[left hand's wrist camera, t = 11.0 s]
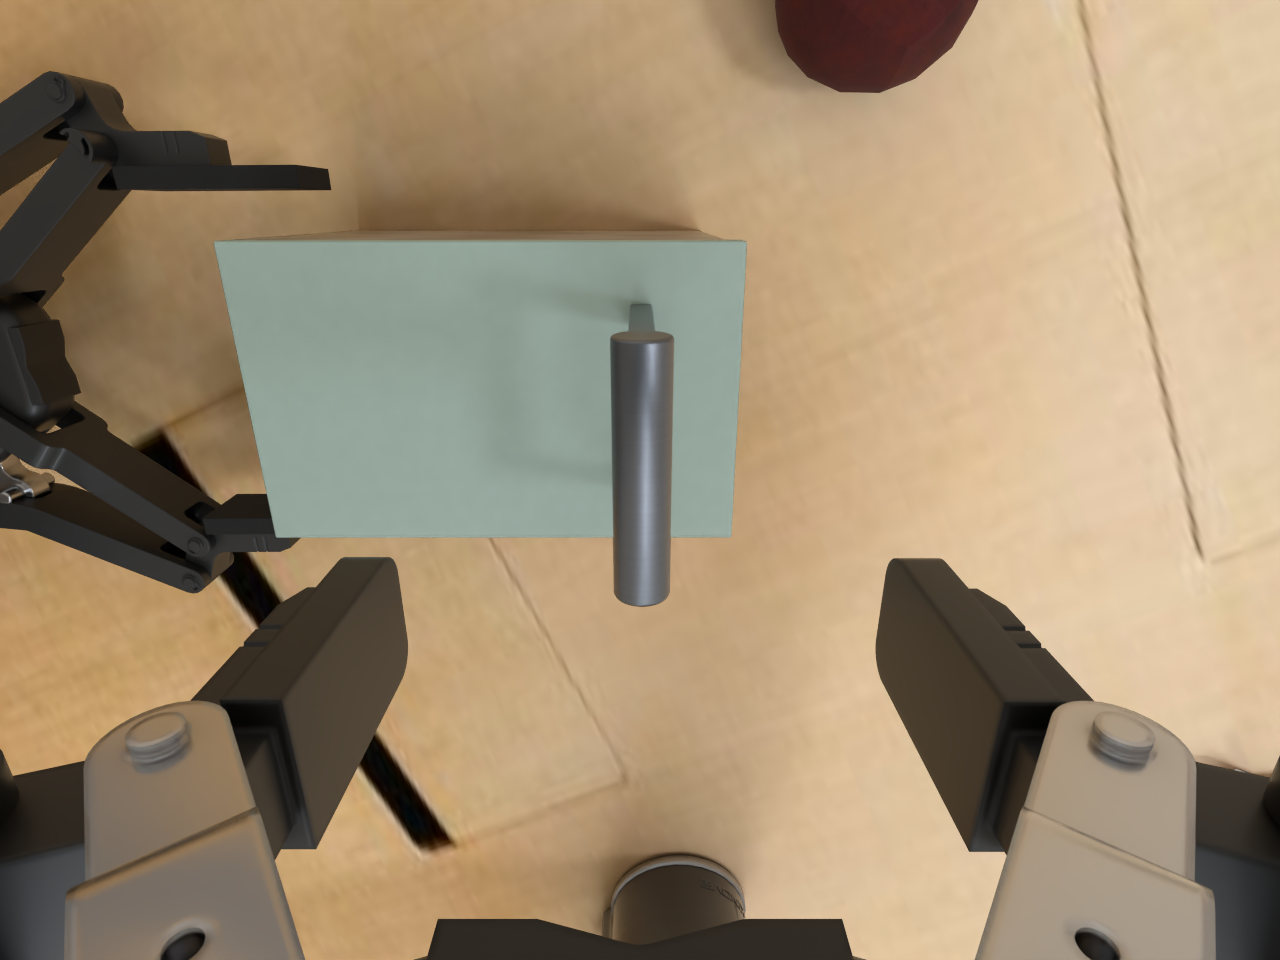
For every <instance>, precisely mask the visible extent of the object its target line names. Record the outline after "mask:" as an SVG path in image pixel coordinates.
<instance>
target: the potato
mask: <svg viewBox="0 0 1280 960" xmlns="http://www.w3.org/2000/svg"><path fill="white" fill-rule="evenodd" d="M977 2H978V0H776V2H775V8H776V16H777V24H778V32H779V34H780V37H781V39H782V42H783V44H784V47H785V49H786V52H787V54H788V56H789V57H790V58H791V59H792V60H793V61H794V62H795V64H796V65H797V66H798V67H799V68H800V69H801V70H802V71H803V72H804V73H805V75H806V76H807V77H809V78H811V79H813V80H815V81H817V82H820V83H822V84H824V85H826V86H828V87H830V88H832V89H835V90H837V91H839V92H868V93H880V92H883V91H885V90H888V89H890V88H893V87H895V86H898V85H900V84H903V83H905V82H908V81H910V80H913V79H915V78H916V77H918V76H919V75H920V74H921V73H922V72H924V71H925V70H926V69H927V68H928V67H929V66H931V65H932V64H933V63H934V62H935V61H936V60H938V59H939V58H940V57H941V56H942V55H944V54H945V53H946V52H947V51H948V50H949V49H951V48H952V47H953V45H954V43H955V42H956V40H957V38H958V36H959V35H960V33H961V31H962V30H963V28H964V26H965V25H966V23H967V21H968V20H969V18H970V16H971V15H972V13H973V11H974V9H975V7H976V5H977Z"/></svg>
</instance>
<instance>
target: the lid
mask: <svg viewBox="0 0 1280 960" xmlns="http://www.w3.org/2000/svg"><path fill="white" fill-rule="evenodd" d="M214 247H215V251H216V256H217V261H218V265H219V270H220V275H221V280H222V284H223V289H224V294H225V299H226V303H227V308H228V313H229V317H230V322H231V327H232V332H233V336H234V341H235V346H236V351H237V355H238V360H239V365H240V369H241V374H242V379H243V384H244V388H245V393H246V398H247V403H248V407H249V412H250V417H251V421H252V426H253V431H254V436H255V440H256V445H257V450H258V455H259V459H260V464H261V469H262V473H263V478H264V483H265V488H266V492H267V497H268V502H269V507H270V511H271V516H272V521H273V525H274V530H275V535H276V537H277V538H320V537H613V564H614V594H615V596H616V597H617V599H618V600H620V601H621V602H623V603H625V604H628V605H631V606H639V607H645V606H652V605H656V604H659V603H661V602H663V601H664V600H665V599H666V598H667V597H668V595H669V593H670V546H671V537H731V533H732V514H733V495H734V476H735V457H736V439H737V420H738V401H739V382H740V363H741V345H742V326H743V307H744V288H745V269H746V251H747V242H746V241H743V240H223V241H215V242H214Z"/></svg>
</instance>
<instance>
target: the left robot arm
mask: <svg viewBox="0 0 1280 960" xmlns="http://www.w3.org/2000/svg"><path fill="white" fill-rule="evenodd" d="M407 656H408V640H407V632H406V625H405V618H404V611H403V605H402V598H401V591H400V584H399V577H398V571H397V567H396V564H395V562H394V560H393V559H392V558H390V557H344V558H342V559H340V560H339V561H338V562H337V563H336V565H335V566H334V567H333V568H332V569H331V570H330V572H329V573H328V574H327V575H326V576H325V577H324V579H323V580H322V581H321V582H320V583H319V584H318V586H317V587H307V588H306V589H304V590H302V591H301V592H299V593H297V594H296V595H294V596H292V597H291V598H289V599H287V600H285V601H284V602H282V603H280V604H279V605H278V606H277V607H276V608H275V609H274V610H273V611H272V612H271V613H270V614H269V615H268V617H267V618H266V619H265V620H264V621H263V622H262V623H261V624H260V628H259V629H256V630H255V631H254V632H253V633H252V634H251V635H250V636H249V637H248V638H247V639H246V641H245V642H244V646H243V647H239V648H238V649H237V650H236V651H235V653H234V654H233V655H232V656H231V657H230V658H229V659H228V660H227V661H226V662H225V663H224V665H223V666H222V667H221V668H220V669H219V670H218V671H217V672H216V673H215V674H214V675H213V677H212V678H211V679H210V680H209V681H208V682H207V683H206V684H205V685H204V686H203V687H202V689H201V690H200V691H199V692H198V693H197V694H196V695H195V696H194V697H193V698H192V699H191V701H185V702H177V703H173V704H168V705H164V706H161V707H157V708H154V709H152V710H149V711H146V712H144V713H141V714H139V715H137V716H135V717H133V718H131V719H129V720H127V721H125V722H124V723H122V724H120V725H119V726H117V727H116V728H114V729H113V730H111V731H110V732H109V733H107V734H106V735H105V736H104V737H103V738H101V739H100V740H99V741H98V742H97V743H96V744H95V745H94V747H93V748H92V749H91V751H90V752H89V753H88V755H87V758H86V760H85V761H82V762H77V763H72V764H68V765H63V766H58V767H54V768H49V769H44V770H39V771H35V772H30V773H25V774H21V775H16V776H12V773H11V771H10V769H9V766H8V764H7V762H6V759H5V757H4V754H3V752H2V750H0V960H305V958H304V954H303V951H302V948H301V945H300V941H299V938H298V935H297V932H296V928H295V925H294V922H293V919H292V915H291V912H290V909H289V906H288V902H287V899H286V896H285V893H284V889H283V886H282V883H281V880H280V876H279V873H278V870H277V867H276V863H275V859H276V857H277V855H278V854H279V852H280V850H281V849H316V848H317V846H318V844H319V842H320V840H321V838H322V836H323V834H324V832H325V830H326V828H327V826H328V825H329V823H330V821H331V819H332V817H333V815H334V813H335V811H336V809H337V807H338V805H339V803H340V801H341V799H342V797H343V795H344V793H345V791H346V789H347V787H348V785H349V783H350V781H351V779H352V777H353V775H354V773H355V771H356V769H357V767H358V765H359V763H360V761H361V759H362V757H363V755H364V753H365V752H366V750H367V748H368V746H369V744H370V742H371V740H372V738H373V736H374V734H375V732H376V730H377V728H378V726H379V724H380V722H381V720H382V718H383V716H384V714H385V712H386V710H387V708H388V706H389V704H390V702H391V700H392V698H393V696H394V694H395V692H396V690H397V688H398V686H399V684H400V682H401V680H402V678H403V676H404V673H405V669H406V664H407ZM876 661H877V667H878V672H879V675H880V678H881V680H882V683H883V685H884V686H885V688H886V690H887V692H888V694H889V696H890V698H891V700H892V702H893V704H894V706H895V708H896V710H897V712H898V714H899V716H900V718H901V720H902V722H903V724H904V725H905V727H906V729H907V731H908V733H909V735H910V737H911V739H912V741H913V743H914V745H915V747H916V749H917V751H918V753H919V755H920V757H921V759H922V761H923V762H924V764H925V766H926V768H927V770H928V772H929V774H930V776H931V778H932V780H933V782H934V784H935V786H936V788H937V790H938V792H939V794H940V796H941V798H942V800H943V801H944V803H945V805H946V807H947V809H948V811H949V813H950V815H951V817H952V819H953V821H954V823H955V825H956V827H957V829H958V831H959V833H960V835H961V837H962V838H963V840H964V842H965V844H966V846H967V848H968V850H969V852H1005V853H1006V855H1007V857H1006V860H1005V863H1004V867H1003V870H1002V873H1001V876H1000V880H999V883H998V886H997V889H996V893H995V896H994V899H993V902H992V906H991V909H990V912H989V915H988V919H987V922H986V925H985V928H984V932H983V935H982V938H981V941H980V945H979V948H978V951H977V954H976V958H975V960H1280V756H1279V759H1278V761H1277V763H1276V766H1275V768H1274V770H1273V773H1272V775H1271V778H1269V777H1264V776H1259V775H1254V774H1250V773H1245V772H1240V771H1236V770H1231V769H1226V768H1221V767H1217V766H1212V765H1207V764H1203V763H1199V762H1195V760H1194V758H1193V755H1192V754H1191V752H1190V751H1189V749H1188V748H1187V747H1186V745H1185V744H1184V743H1183V742H1182V741H1181V740H1180V739H1179V738H1177V737H1176V736H1175V735H1174V734H1173V733H1171V732H1170V731H1169V730H1167V729H1166V728H1164V727H1163V726H1161V725H1160V724H1158V723H1156V722H1155V721H1153V720H1151V719H1149V718H1147V717H1145V716H1143V715H1141V714H1139V713H1136V712H1134V711H1131V710H1128V709H1126V708H1123V707H1119V706H1116V705H1112V704H1107V703H1103V702H1095V701H1094V700H1093V699H1092V698H1091V697H1090V696H1089V695H1088V694H1087V693H1086V692H1085V691H1084V690H1083V689H1082V688H1081V686H1080V685H1079V684H1078V683H1077V682H1076V681H1075V680H1074V679H1073V678H1072V677H1071V676H1070V675H1069V673H1068V672H1067V671H1066V670H1065V669H1064V668H1063V667H1062V666H1061V665H1060V664H1059V663H1058V662H1057V660H1056V659H1055V658H1054V657H1053V656H1052V655H1051V654H1050V653H1049V652H1048V651H1047V650H1046V649H1045V648H1041V643H1040V642H1039V641H1038V640H1037V639H1036V638H1035V637H1034V636H1033V635H1032V633H1031V632H1030V631H1026V630H1025V626H1024V625H1023V624H1022V623H1021V622H1020V620H1019V619H1018V618H1017V617H1016V616H1015V615H1014V614H1013V613H1012V612H1011V611H1010V610H1009V609H1008V607H1007V606H1005V605H1003V604H1002V603H1000V602H998V601H997V600H995V599H993V598H992V597H990V596H988V595H987V594H985V593H983V592H982V591H980V590H978V589H968V587H967V586H966V585H965V584H964V583H963V582H962V580H961V579H960V578H959V577H958V576H957V575H956V574H955V572H954V571H953V570H952V569H951V568H950V567H949V566H948V564H947V563H946V562H945V561H944V560H942V559H939V558H894V559H892V560H891V561H890V563H889V565H888V567H887V570H886V576H885V583H884V589H883V596H882V603H881V610H880V617H879V624H878V631H877V637H876ZM415 960H865V959H862V958H858V957H854V956H852V952H851V949H850V945H849V942H848V938H847V935H846V931H845V928H844V924H843V921H842V919H745V903H744V896H743V892H742V889H741V887H740V885H739V883H738V881H737V880H736V879H735V877H734V876H733V875H732V874H731V873H730V872H728V871H727V870H726V869H724V868H723V867H721V866H720V865H718V864H716V863H714V862H711V861H709V860H706V859H702V858H698V857H693V856H679V855H677V856H665V857H660V858H656V859H652V860H649V861H646V862H644V863H642V864H640V865H638V866H636V867H634V868H633V869H631V870H630V871H629V872H628V873H626V874H625V875H624V876H623V877H622V878H621V880H620V881H619V882H618V884H617V885H616V887H615V889H614V892H613V895H612V900H611V908H610V909H609V910H607V911H606V912H605V913H604V914H603V929H602V936H599V935H595V934H592V933H588V932H584V931H580V930H577V929H573V928H569V927H565V926H561V925H558V924H554V923H550V922H546V921H543V920H539V919H438V921H437V924H436V928H435V931H434V935H433V938H432V942H431V945H430V949H429V952H428V956H426V957H422V958H418V959H415Z"/></svg>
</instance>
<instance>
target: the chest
mask: <svg viewBox="0 0 1280 960" xmlns="http://www.w3.org/2000/svg"><path fill="white" fill-rule="evenodd" d="M236 240H724V239H721V238H718V237H715V236H712V235H709V234H706V233H704V232H701V231H700V230H355V231H345V232H332V233H318V234H304V235H291V236H277V237H263V238H250V239H236Z"/></svg>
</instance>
